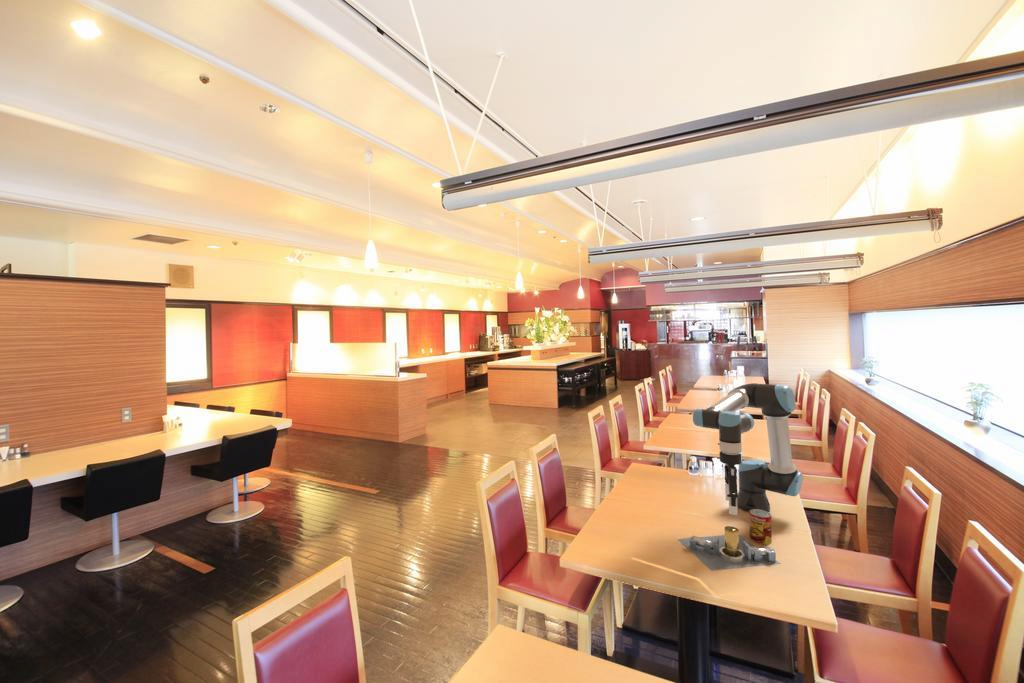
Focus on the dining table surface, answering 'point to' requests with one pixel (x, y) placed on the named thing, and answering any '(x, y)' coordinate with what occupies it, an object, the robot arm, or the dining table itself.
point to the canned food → (760, 526)
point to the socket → (732, 559)
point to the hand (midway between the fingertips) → (731, 507)
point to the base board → (717, 561)
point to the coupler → (731, 541)
